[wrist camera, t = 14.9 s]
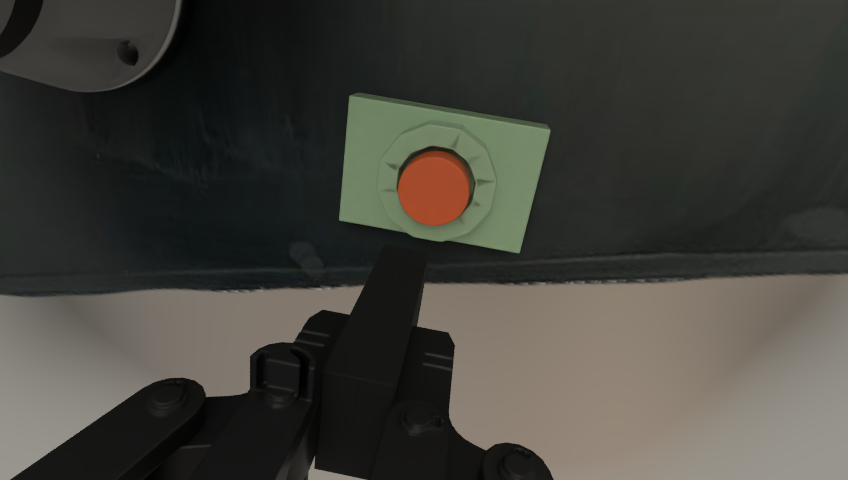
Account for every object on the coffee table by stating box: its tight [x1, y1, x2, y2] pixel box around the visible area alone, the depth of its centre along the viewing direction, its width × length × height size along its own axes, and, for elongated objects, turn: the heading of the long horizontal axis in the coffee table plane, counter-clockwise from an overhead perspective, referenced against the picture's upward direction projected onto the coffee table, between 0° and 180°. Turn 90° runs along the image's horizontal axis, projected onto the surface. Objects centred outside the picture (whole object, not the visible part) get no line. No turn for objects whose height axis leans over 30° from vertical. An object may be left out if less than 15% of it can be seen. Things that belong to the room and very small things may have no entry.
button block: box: [339, 93, 551, 253], centre depth 29 cm, size 12×8×4 cm, turn 81°
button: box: [398, 151, 470, 226], centre depth 27 cm, size 4×4×2 cm
